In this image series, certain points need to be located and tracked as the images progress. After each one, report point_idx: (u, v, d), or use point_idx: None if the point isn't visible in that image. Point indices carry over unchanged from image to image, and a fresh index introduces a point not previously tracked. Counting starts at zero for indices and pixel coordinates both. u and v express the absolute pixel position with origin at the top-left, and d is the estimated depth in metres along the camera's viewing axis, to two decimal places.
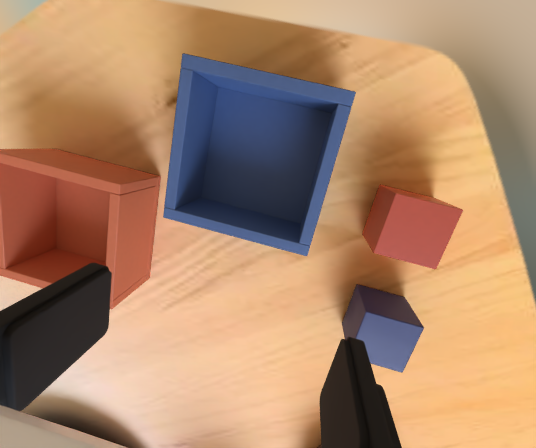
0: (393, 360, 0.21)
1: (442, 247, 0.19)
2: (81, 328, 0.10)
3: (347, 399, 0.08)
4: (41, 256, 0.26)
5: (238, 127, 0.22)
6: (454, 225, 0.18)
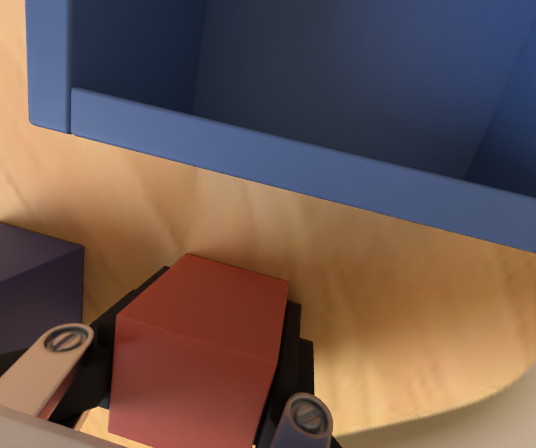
0: None
1: (156, 444, 0.08)
2: None
3: None
4: None
5: None
6: None
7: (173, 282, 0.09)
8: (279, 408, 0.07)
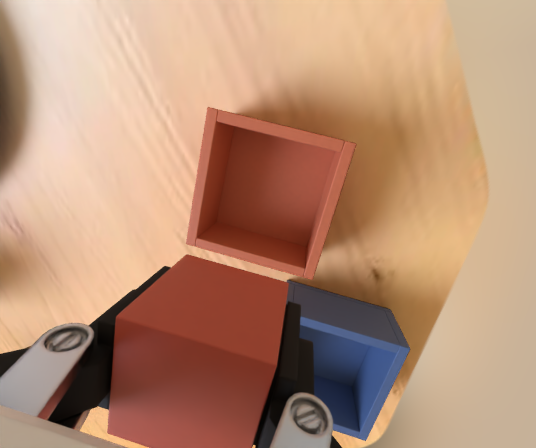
0: None
1: (155, 445, 0.08)
2: None
3: None
4: (227, 128, 0.22)
5: None
6: None
7: (173, 283, 0.09)
8: (278, 408, 0.07)
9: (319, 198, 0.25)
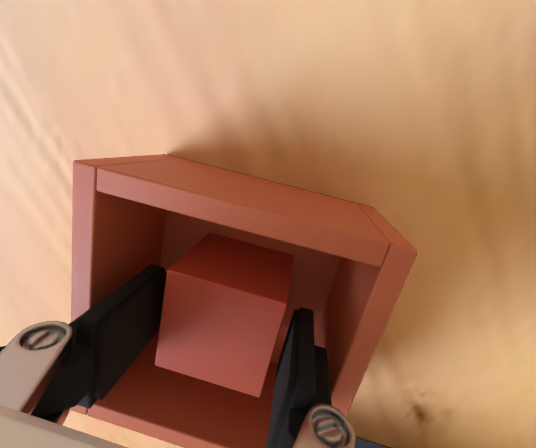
0: None
1: (192, 373, 0.11)
2: (145, 325, 0.10)
3: (288, 355, 0.09)
4: None
5: None
6: (232, 387, 0.11)
7: (203, 251, 0.12)
8: (297, 419, 0.07)
9: (325, 298, 0.14)
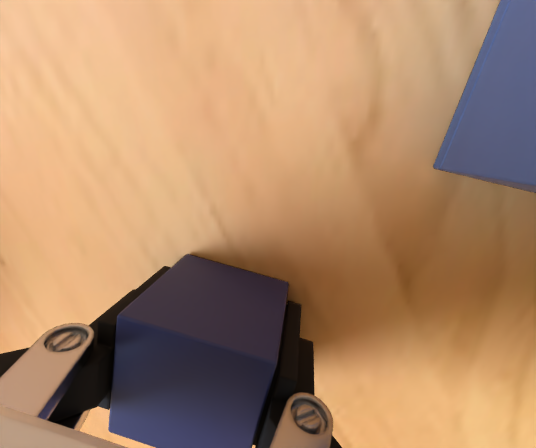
0: (136, 417, 0.08)
1: None
2: None
3: None
4: None
5: None
6: None
7: None
8: (278, 408, 0.07)
9: None
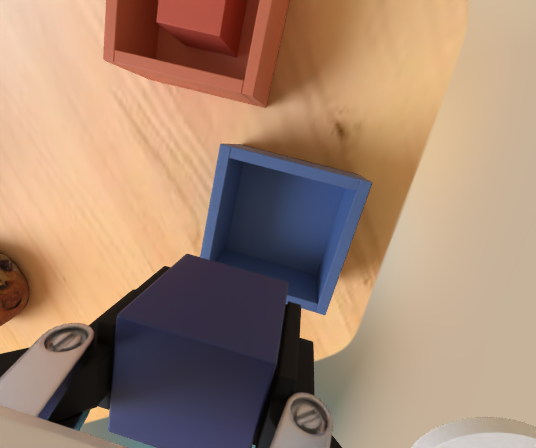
0: (136, 416, 0.08)
1: (179, 23, 0.18)
2: None
3: None
4: None
5: (310, 198, 0.24)
6: (203, 30, 0.18)
7: None
8: (278, 408, 0.07)
9: None
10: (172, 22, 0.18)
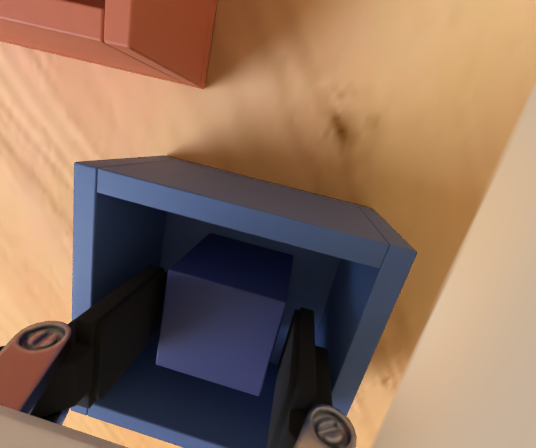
0: (178, 350, 0.11)
1: None
2: (144, 325, 0.10)
3: (289, 355, 0.09)
4: None
5: (288, 250, 0.14)
6: None
7: None
8: (298, 420, 0.07)
9: None
10: None
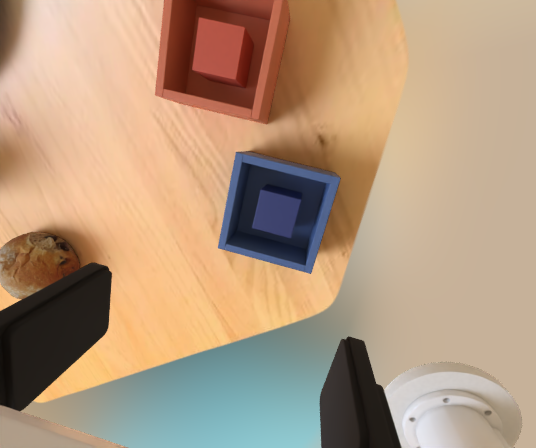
0: (261, 221, 0.29)
1: (208, 71, 0.26)
2: (81, 328, 0.10)
3: (347, 399, 0.08)
4: None
5: (300, 190, 0.32)
6: (224, 75, 0.26)
7: None
8: None
9: None
10: (203, 70, 0.26)
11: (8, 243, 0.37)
